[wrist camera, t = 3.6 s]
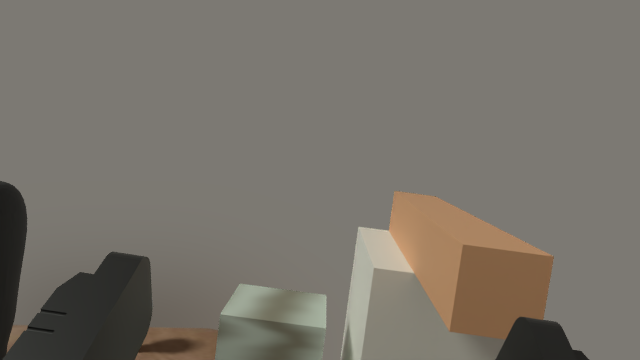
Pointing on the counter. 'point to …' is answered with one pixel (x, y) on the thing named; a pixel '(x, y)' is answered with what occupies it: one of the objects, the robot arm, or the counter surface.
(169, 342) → the counter surface
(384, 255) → the stand
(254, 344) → the tower
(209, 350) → the counter surface
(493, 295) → the bar
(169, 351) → the counter surface
